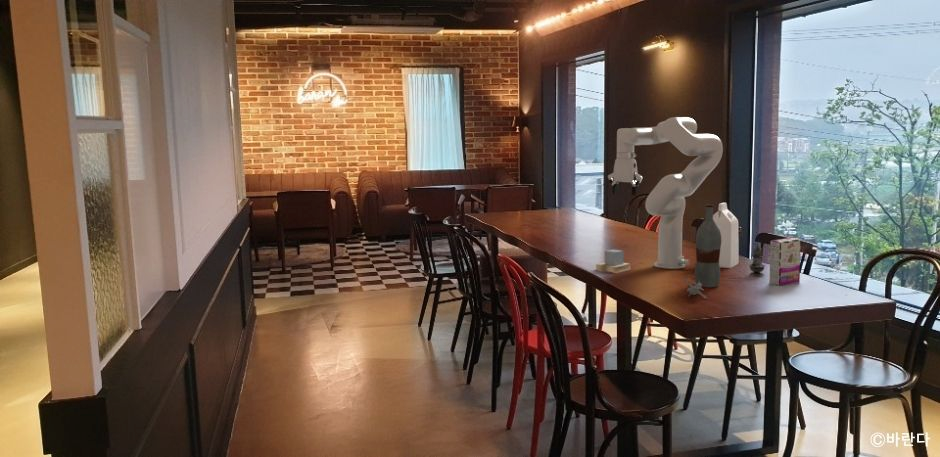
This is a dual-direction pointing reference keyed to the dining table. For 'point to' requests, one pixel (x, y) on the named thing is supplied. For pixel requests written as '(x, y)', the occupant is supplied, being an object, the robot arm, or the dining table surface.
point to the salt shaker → (757, 263)
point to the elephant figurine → (695, 289)
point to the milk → (727, 236)
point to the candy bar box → (785, 261)
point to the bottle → (708, 251)
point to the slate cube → (614, 257)
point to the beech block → (612, 267)
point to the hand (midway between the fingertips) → (624, 194)
